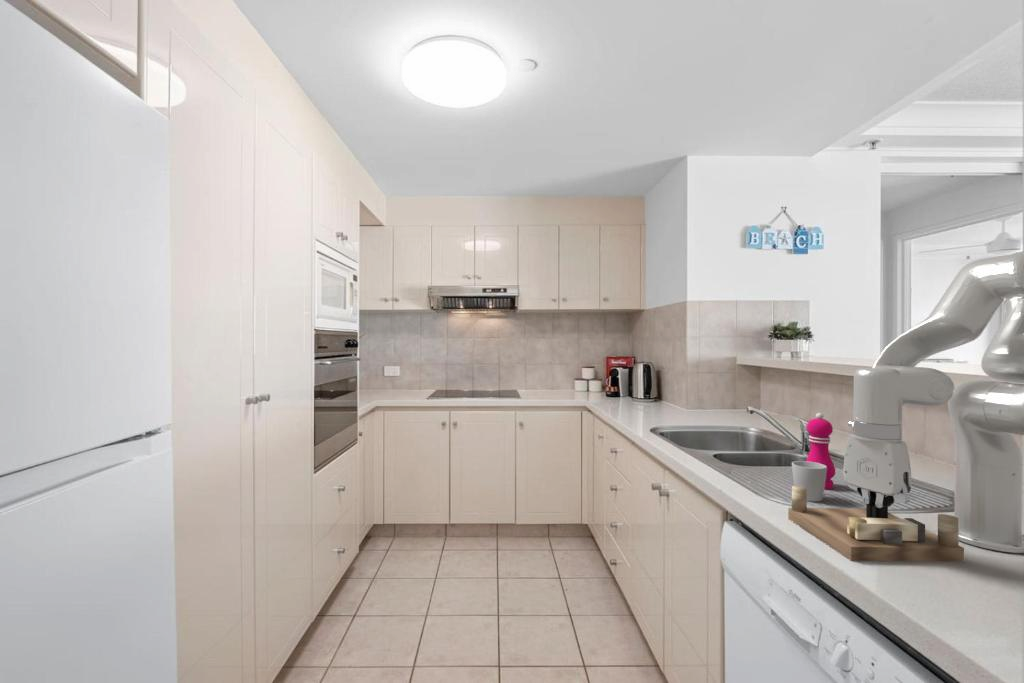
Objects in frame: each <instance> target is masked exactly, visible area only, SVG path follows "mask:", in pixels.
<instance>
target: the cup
mask: <svg viewBox="0 0 1024 683" xmlns="http://www.w3.org/2000/svg"><path fill="white" fill-rule="evenodd" d="M791 470H792V471H791V472H792V478H793V486H802V487H806V488H807V502H813V503H817V502H818V503H819V502H822V501H823V498H824V494H825V493H824V492H825V489H824V488H825V481H826V473H827V466H825V465H823V464H820V463H815V462H809V461H806V460H795V461H792V462H791Z"/></svg>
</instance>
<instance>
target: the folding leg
mask: <svg viewBox="0 0 1024 683" xmlns="http://www.w3.org/2000/svg"><path fill="white" fill-rule="evenodd" d="M881 529H898V530H900V531H902V541H917V542H925V530H926V524H924V523H922V522H921V521H919V520H916V519H914V518H911V517H905V518H901V519H894V518H859V517H847V533H848V534H849V535H850V536H851V537H854V538H856V539H859V540H881Z"/></svg>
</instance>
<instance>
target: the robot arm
mask: <svg viewBox="0 0 1024 683" xmlns="http://www.w3.org/2000/svg"><path fill="white" fill-rule="evenodd" d="M1003 303H1004V304H1005V314H1004V316H1003V319H1002V321H1001V323H1000V324H999V327H998V328H997V330H996V332H995V334H994V335H993V337H991V338H992V339H991V340H990V342H989V343H988V346H987V347H986V349H985V351H984V353H983V356H982V358H981V364H980V366H981V370H982V371H983V373H985V375H987V376H988V377H990V378H992V379H995V380H998V381H993V380H969V381H966V382H962V383H960V384H957V385H955V383H954V381H953V379H952V378H951V376H949V375H948V374H947V373H945V372H943V371H941V370H939V369H936V368H931V367H922V366H917V365H918V364H919V363H921V362H923V361H924V360H925V359H928V358H930V357H932V356H933V355H936V354H939V353H941V352H945V351H947V350H951V349H954V348H958V347H960V346H964V345H965V344H968V343H971V342H974V341H975V340H977V339H979V337H981V335H982V334H983V332H984V330H985V329H986V328H987V327H988V325H989V323H990V322H991V320H992V318H993V317H994V315H995V314H996V313H997V311H998V309H1000V307H1001V306H1002V304H1003ZM945 403H947V409H948V414H949V416H950V420H951V426H952V429H953V438H954V439H953V440H954V441H953V443H954V475H953V476H954V479H953V480H954V481H953V482H954V489H953V490H954V492H953V493H954V496H953V497H954V501H953V502H954V511H953V512H954V514H953V516H955V517H957V518H958V519H959V538H958V542H963V543H965V544H968V545H971V546H976V547H977V548H978V547H979V548H983V549H987V550H991V551H996V552H997V551H998V552H1003V553H1014V554H1024V536H1023V455H1022V451H1021V449H1020V446H1019V444H1018V442H1017V440H1016V439H1015V437H1014V435H1020V436H1024V250H1023V251H1018V252H1014V253H1010V254H1004V255H998V256H992V257H984V258H981V259H977V260H973V261H971V262H968V263H966V264H965V265H964V266H963V267H961V269H959V271H958V273H957V274H956V275H955V276H954V279H953V280H952V281H951V283H950V284H949V286H948V287H947V288H946V290H945V292H944V293H943V295H942V296H941V298H940V299H939V301H938V302H937V304H936V305H935V307H933V310H932V311H931V312H930V314H929V315H928V316H927V317H926V318H924V320H922V321H921V322H918V323H917V324H916V325H914V326H912V327H911V328H909V329H908V330H906V331H905V332H904V333H902V334H900V335H899V336H898V337H896V338H895V339H893V340H892V341H891V342H890V343H888V345H887V346H885V348H884V349H883V350H882V351H881V353H880V354H879V356H878V357H877V359H875V361H874V362H873V364H872V366H871V367H861V368H857V369H856V370H855V371H854V372H853V419H852V420H849V422H848V428H850V429H852V433H853V434H849V435H848V438H847V442H846V445H845V450H844V460H843V469H842V470H843V471H842V474H843V480H844V482H845V483H847V487H849V489H851V490H854V491H856V492H857V493H858V494H859V495H860V497H861V498H862V502H863V504H865V506H866V507H865V509H866V517H867V518H888V513H889V507H891V506H892V505H893V504H896V503H899V504H906V503H909V502H910V500H911V499H910V495H909V493H911V491H912V490H911V489H912V468H911V460H910V454H909V449H908V447H907V446H908V445H907V443H906V441H904V440H903V406H904V405H907V406H908V405H909V406H916V407H924V408H934V407H939V406H943V404H945Z"/></svg>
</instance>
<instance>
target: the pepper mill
mask: <svg viewBox="0 0 1024 683" xmlns="http://www.w3.org/2000/svg"><path fill="white" fill-rule="evenodd" d="M833 429H834V428H833V425H832V423H831V422H830V421H829V420H827V419H824V415H823V413H821V412H817V413H816V414H815V418H811V419H810V420H808V422H807V424H806V430H807V432H808V434H809V435H808V441H809V442H810V450H809V453H808V456H807V458H806V459H805V461H809V462H815V463H820V464H823V465H825V466H827V473H826V481H825V488H824V490H832V489H834V481H833V480H832V478H833V477H835V475H836V467H835V465H834V461H833V459H832V458H831V455H830V451H829V444H830V443H831V437H830V435H832V434H833V433H834V432H833V431H834V430H833Z"/></svg>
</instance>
